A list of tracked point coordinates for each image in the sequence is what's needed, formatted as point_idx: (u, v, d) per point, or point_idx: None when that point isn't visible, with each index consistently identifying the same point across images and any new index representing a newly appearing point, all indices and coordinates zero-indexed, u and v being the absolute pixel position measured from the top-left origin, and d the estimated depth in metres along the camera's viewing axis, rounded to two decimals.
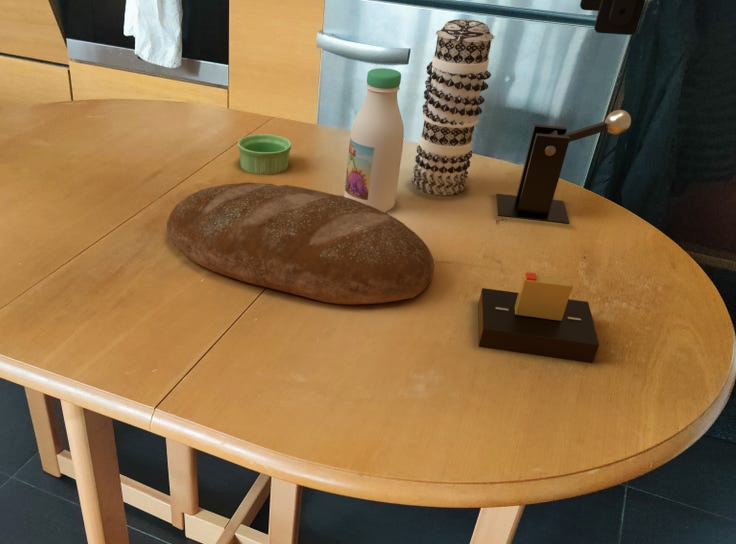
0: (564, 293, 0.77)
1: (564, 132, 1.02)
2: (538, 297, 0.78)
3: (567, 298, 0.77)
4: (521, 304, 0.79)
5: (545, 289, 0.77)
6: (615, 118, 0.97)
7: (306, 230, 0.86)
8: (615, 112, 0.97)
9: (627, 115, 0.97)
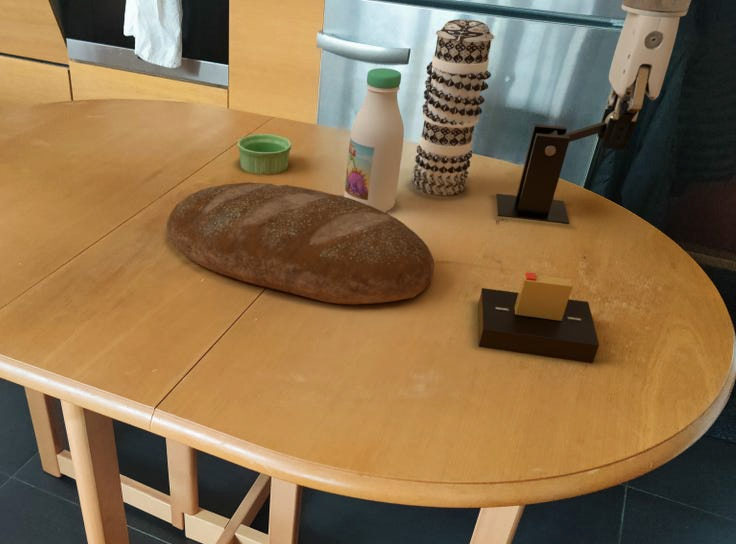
0: (564, 293, 0.77)
1: (564, 132, 1.02)
2: (538, 297, 0.78)
3: (567, 298, 0.77)
4: (521, 304, 0.79)
5: (545, 289, 0.77)
6: None
7: (306, 229, 0.86)
8: None
9: None
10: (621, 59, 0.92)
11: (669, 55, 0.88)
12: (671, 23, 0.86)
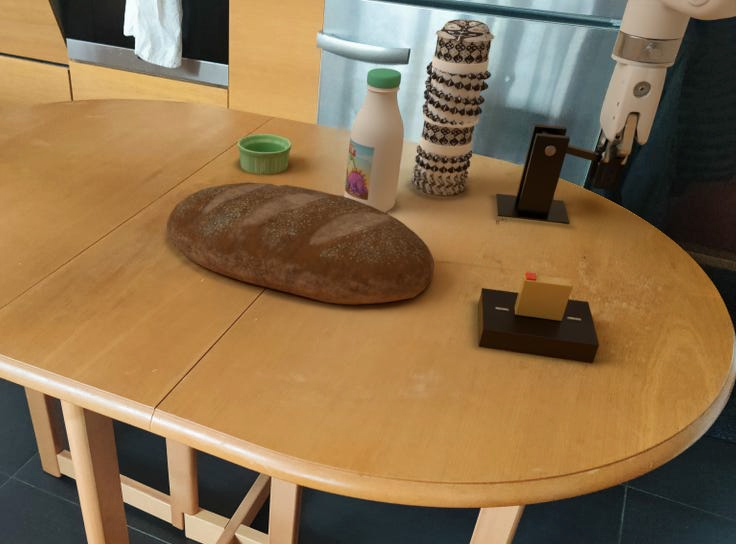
0: (564, 293, 0.77)
1: (564, 132, 1.02)
2: (538, 297, 0.78)
3: (567, 298, 0.77)
4: (521, 304, 0.79)
5: (545, 289, 0.77)
6: None
7: (306, 230, 0.86)
8: None
9: None
10: (610, 105, 0.95)
11: (657, 104, 0.91)
12: (658, 74, 0.90)
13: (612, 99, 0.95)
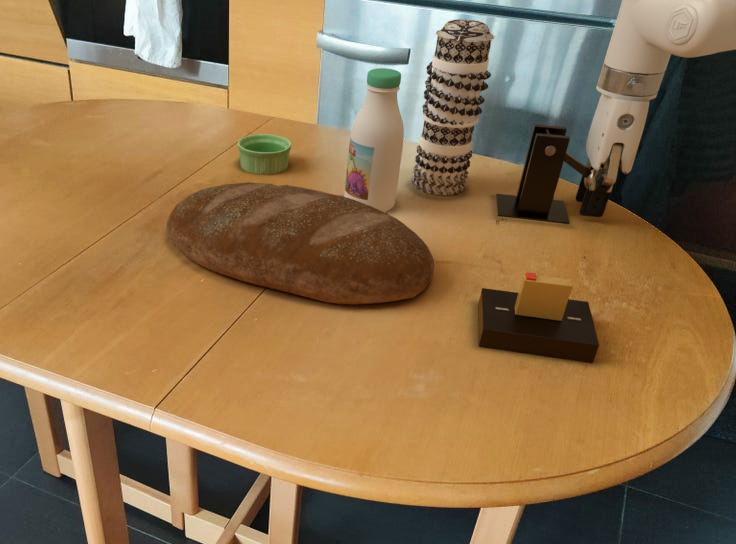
0: (564, 293, 0.77)
1: (564, 132, 1.02)
2: (538, 297, 0.78)
3: (567, 298, 0.77)
4: (521, 304, 0.79)
5: (545, 289, 0.77)
6: (601, 176, 1.01)
7: (306, 229, 0.86)
8: None
9: None
10: (596, 135, 0.98)
11: (640, 135, 0.94)
12: (641, 107, 0.92)
13: (597, 129, 0.98)
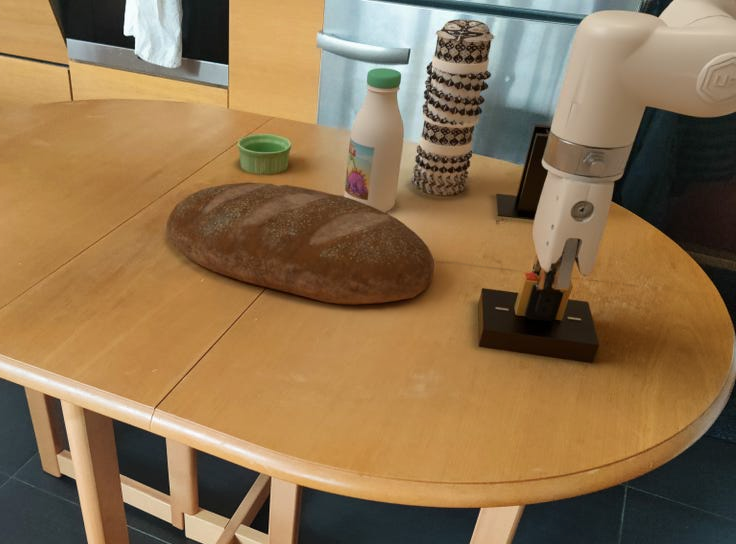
0: (564, 293, 0.77)
1: None
2: None
3: (567, 298, 0.77)
4: (521, 304, 0.79)
5: None
6: None
7: (306, 230, 0.86)
8: None
9: None
10: (543, 224, 0.72)
11: (603, 228, 0.68)
12: (603, 192, 0.67)
13: (545, 217, 0.72)
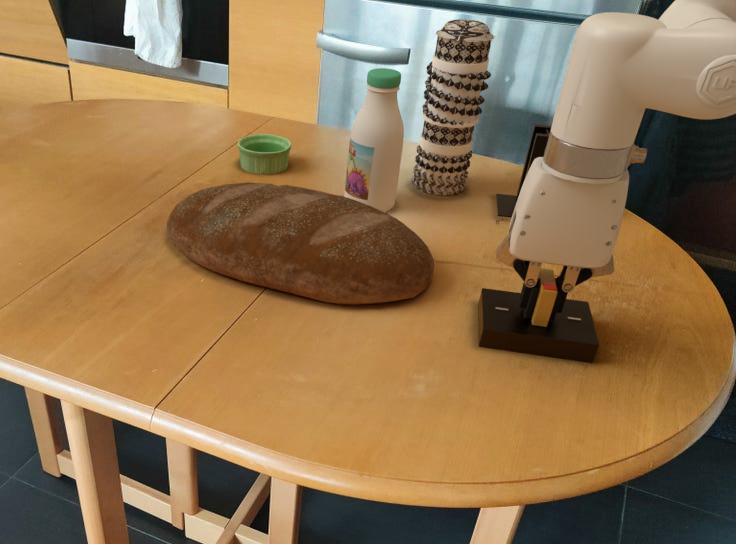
0: None
1: None
2: None
3: None
4: (550, 314, 0.78)
5: None
6: None
7: (306, 230, 0.86)
8: None
9: None
10: (586, 233, 0.71)
11: None
12: None
13: (587, 226, 0.71)
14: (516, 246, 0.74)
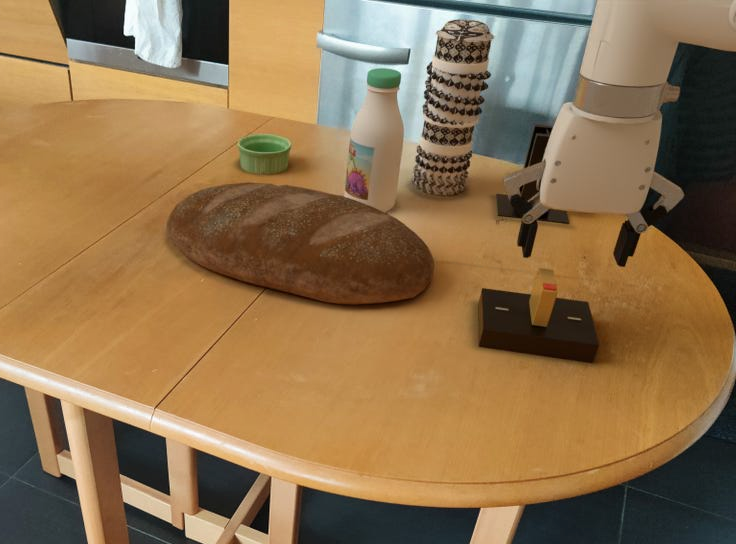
0: None
1: None
2: None
3: None
4: (550, 314, 0.78)
5: None
6: None
7: (306, 229, 0.86)
8: None
9: None
10: (618, 177, 0.70)
11: None
12: None
13: (619, 170, 0.69)
14: (547, 194, 0.73)
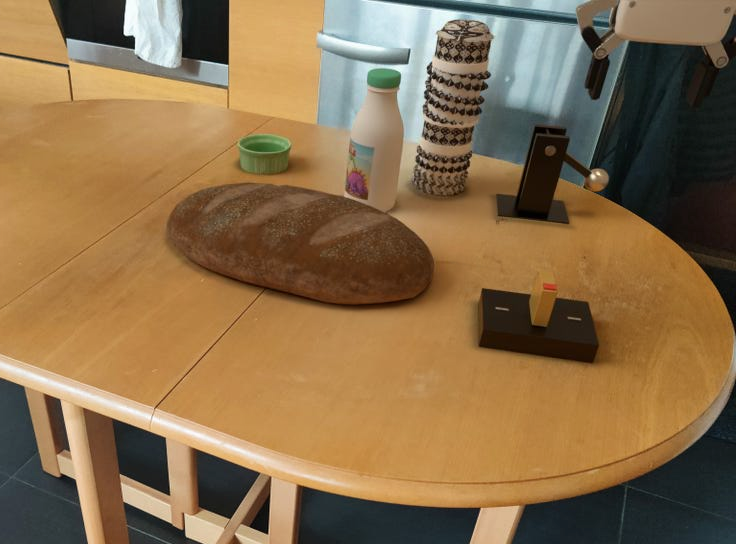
0: None
1: (564, 132, 1.02)
2: None
3: None
4: (550, 314, 0.78)
5: None
6: (601, 176, 1.01)
7: (306, 230, 0.86)
8: (604, 172, 1.02)
9: (607, 182, 1.02)
10: None
11: None
12: None
13: None
14: (623, 22, 0.69)
